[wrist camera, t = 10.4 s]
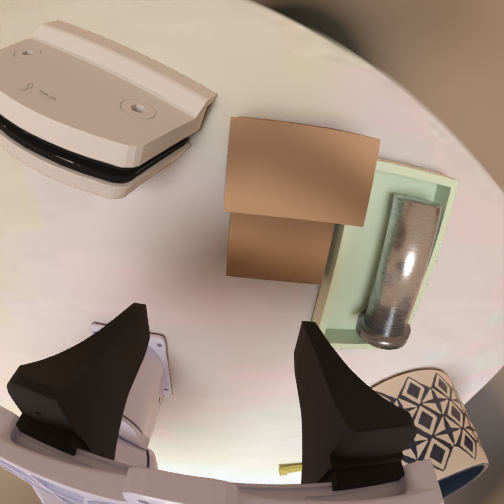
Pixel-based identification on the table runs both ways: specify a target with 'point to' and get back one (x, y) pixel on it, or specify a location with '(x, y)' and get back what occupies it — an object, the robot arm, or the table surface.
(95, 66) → the white curved plastic device
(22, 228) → the table surface
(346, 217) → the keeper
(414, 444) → the planter
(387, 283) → the pin
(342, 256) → the tray
